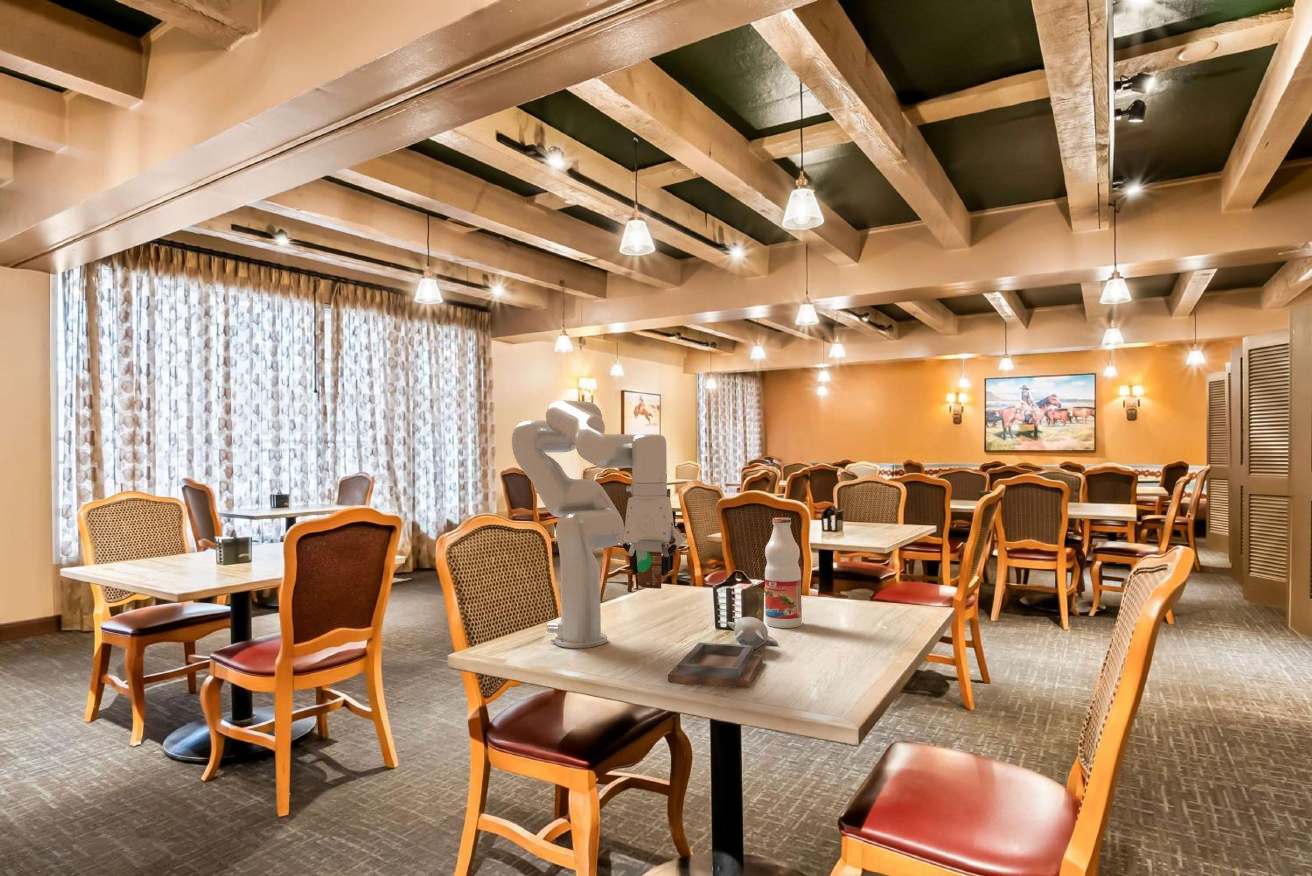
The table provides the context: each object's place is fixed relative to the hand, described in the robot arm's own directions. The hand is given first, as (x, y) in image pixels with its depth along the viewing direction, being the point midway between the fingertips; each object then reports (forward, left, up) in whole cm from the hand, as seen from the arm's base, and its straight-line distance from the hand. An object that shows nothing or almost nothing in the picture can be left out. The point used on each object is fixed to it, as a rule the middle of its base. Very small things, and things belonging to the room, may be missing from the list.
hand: (650, 573), depth 158 cm
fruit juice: (+23, +43, -19) cm, 53 cm away
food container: (-1, 0, -3) cm, 3 cm away
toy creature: (+19, +17, -20) cm, 32 cm away
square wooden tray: (+15, -3, -19) cm, 25 cm away
